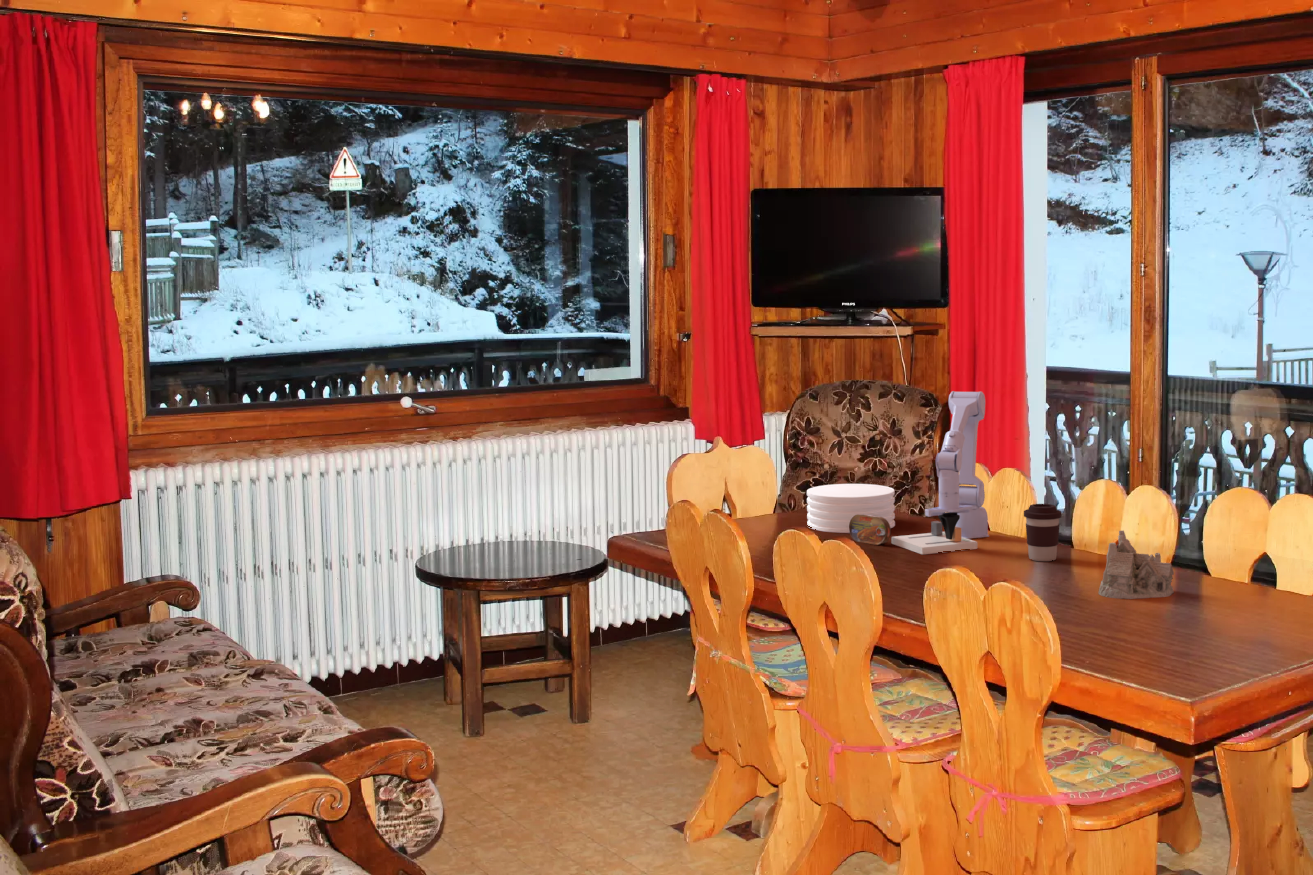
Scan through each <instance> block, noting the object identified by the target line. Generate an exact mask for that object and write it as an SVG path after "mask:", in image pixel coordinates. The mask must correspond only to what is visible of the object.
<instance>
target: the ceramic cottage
mask: <svg viewBox="0 0 1313 875" xmlns="http://www.w3.org/2000/svg"><path fill="white" fill-rule="evenodd" d="M1117 537H1118V538H1117V541H1118V546H1117V544H1116V542H1110V543H1109V544H1108V548H1107V553H1106V565H1105V569H1104V571H1103V573H1102V574H1103V575H1102V580H1101V581H1100V585H1099V588H1098V593H1097V594H1098V595H1100V596H1101V597H1105V598H1110V599H1120V600H1123V599H1125V600H1134V599H1135V600H1136V599H1149V598H1150V599H1151V598H1155V599H1156V598H1165V597H1166V598H1167V597H1170V596H1172V595H1173V594H1174V592H1175V591H1174V587H1173V586H1172V582H1173V581H1172V580H1173V579H1174V578H1173V576H1174V574H1175V573H1174V568H1173V565H1172V563H1171V562H1162V560H1161V559H1162V558H1161V553H1160V552H1155V553H1154V554H1150V555H1149V554H1148V553H1138V552H1137V551H1136V549H1135V548H1134V546H1133V545H1132V544H1131V541H1130V540H1129V539H1128V538H1127V536H1126V532H1125V530H1124V529H1123V530H1118V536H1117Z"/></svg>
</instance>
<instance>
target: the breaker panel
mask: <svg viewBox="0 0 1313 875" xmlns="http://www.w3.org/2000/svg"><path fill="white" fill-rule="evenodd" d="M942 534H943V535H941V536H935V535H932V534H931V532H927V533H917V534H916V533H915V534H909V535H898V536H896V535H895V536H890V538H891V544H892V545H895V546H897V547H900V548H903V549H906V550H909V551H911V552H915V553H917V554H920V555H931V554H939V553H938V552H942V553H944V552H943V551H951V552H956V551H955V550H961V549H970V550H976V549H978V541H976V540H972V539H966V538H963V537H961V541H957V542H955V541H952V540H949V539H946V534H945V531H942ZM961 551H962V550H961Z"/></svg>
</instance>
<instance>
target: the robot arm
mask: <svg viewBox="0 0 1313 875" xmlns="http://www.w3.org/2000/svg"><path fill="white" fill-rule="evenodd" d="M948 408H949V411H950V413H951V415H952V417H951V423H950V429H949V431H947V432H945V435H944V439H943V443H942V446H941V450H940V451H939V452H937V454H936V456H935V467H936V476H937V478H938V506H937V507H936V506H935V507H932V508H931V507H930V508H925V509H924V514H925V517H928V518H929V517H933V516H934V517H935V516H938V519H939V520H940V521H939V522H941V523H942V529H943V530H944V531H943V532H945V534H946V539H949V540H950V539H952V535H953V532H954V529H955V526H956V527H960V528H961V537H963V538H966V539H970V540H972V539H977V538H978V539H980V538H988V537H990V534H989V533H988V532H989V531H988V530H989V529H988V528H989V526H988V524H989V523H988V521H989V520H988V519H989V517H988V512H987V509H986V508H985V507H983V505H984V503H985V499H986V498H985V493H986V492H985V484H984V482H983V481H982V480H981V479H980V478H979V477H978V476H976V464H977V446H978V445H977V442H978V428H979V422H980V421H982V420H985V414H986V396H985V393H984V392H983V391H954V390H952V391H951V392H950V394H949V395H948Z"/></svg>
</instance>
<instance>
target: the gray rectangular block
mask: <svg viewBox="0 0 1313 875" xmlns="http://www.w3.org/2000/svg"><path fill="white" fill-rule="evenodd" d="M930 523H931V524H930V525H931V527H930V529H931V530H930V533H931V534H932V535H935V536H941V535H943V534H942V532H943V525H942V523H941V521H939V520H934V521H933V520H932V521H930Z"/></svg>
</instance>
